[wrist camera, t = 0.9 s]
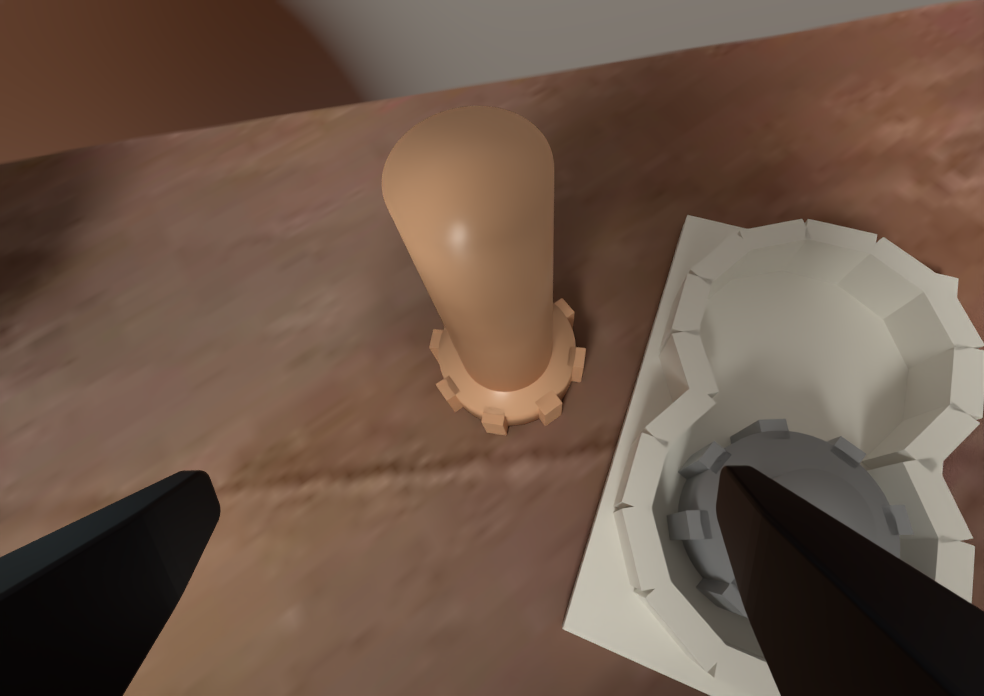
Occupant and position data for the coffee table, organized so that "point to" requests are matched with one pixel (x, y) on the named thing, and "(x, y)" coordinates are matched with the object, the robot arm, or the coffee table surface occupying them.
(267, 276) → the coffee table surface
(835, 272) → the housing
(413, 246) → the knob on notched ring
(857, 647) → the robot arm
